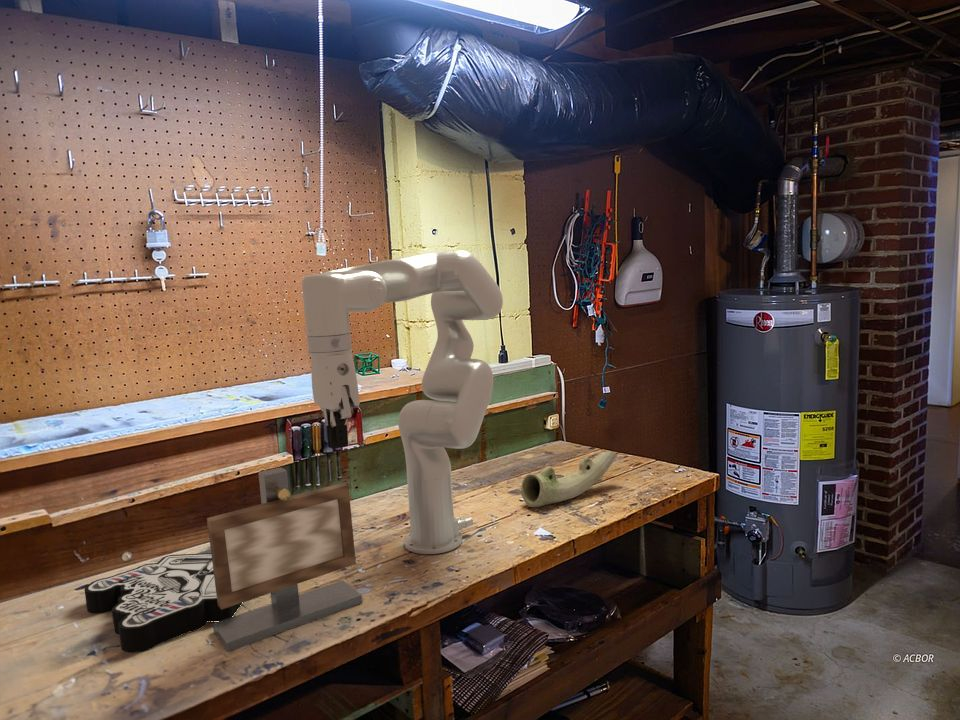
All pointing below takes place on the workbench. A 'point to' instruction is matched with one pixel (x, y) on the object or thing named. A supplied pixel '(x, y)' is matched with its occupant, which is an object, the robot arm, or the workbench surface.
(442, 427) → the robot arm
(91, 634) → the workbench surface
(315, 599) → the tabletop sign stand
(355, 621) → the workbench surface
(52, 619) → the workbench surface
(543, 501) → the pipe
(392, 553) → the workbench surface
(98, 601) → the decorative sign
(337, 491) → the picture frame
